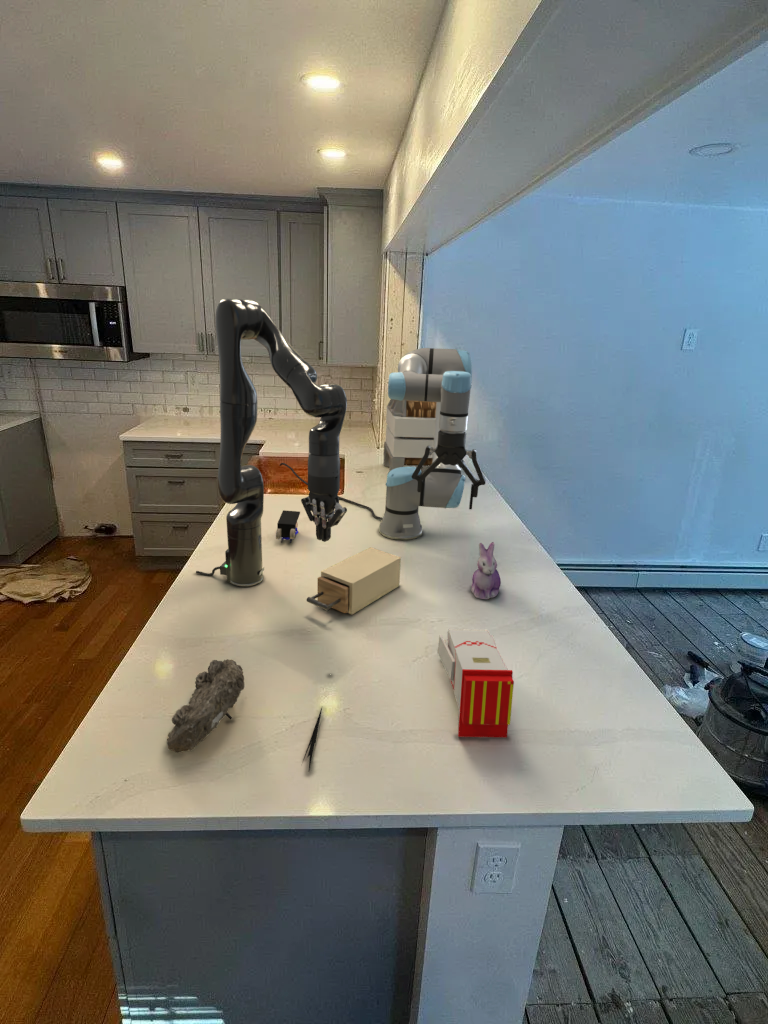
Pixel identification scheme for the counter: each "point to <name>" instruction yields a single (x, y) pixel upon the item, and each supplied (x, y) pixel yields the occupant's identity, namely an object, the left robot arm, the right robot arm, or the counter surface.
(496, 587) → the figurine
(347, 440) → the counter surface
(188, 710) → the fossil
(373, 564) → the cabinet
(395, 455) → the white slatted crate
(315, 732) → the feather
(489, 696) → the toy
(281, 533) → the black wheeled vehicle
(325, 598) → the drawer
